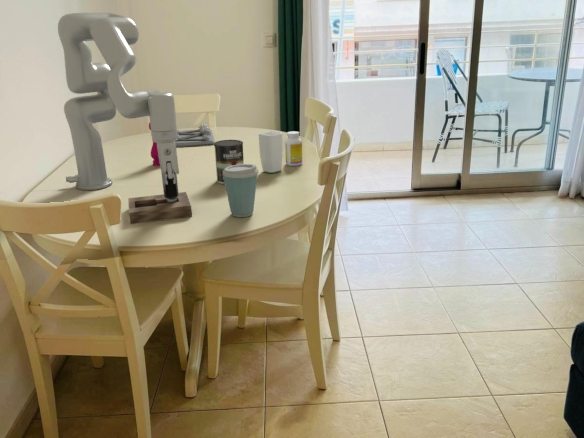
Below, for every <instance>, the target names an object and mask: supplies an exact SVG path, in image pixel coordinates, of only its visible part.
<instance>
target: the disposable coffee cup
mask: <svg viewBox="0 0 584 438" xmlns="http://www.w3.org/2000/svg"><path fill="white" fill-rule="evenodd" d="M259 173H260V172H259V169H258V168H257V165H256V164H253V163H244V164H239V165H233V166H229V167H226V168H225V169H224V171H223V174H222V175H223V177H224V182H225V184H224V186H225V190H226V195H227V200H228V204H229V210H230V214H231V215H232V216H233V217H236V218H246V217H250V216H252V215H253V212H254V209H255V201H256V199H255V198H256V191H257V182H258V181H257V180H258V174H259Z"/></svg>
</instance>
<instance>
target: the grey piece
mask: <svg viewBox="0 0 584 438" xmlns="http://www.w3.org/2000/svg"><path fill="white" fill-rule="evenodd" d="M177 132H178V140H177V141H175V145H176V148H187V147H202V146H214V143H215V142H216V141H215V138H214V135H213V134H214V133H213V131H212V129H211V128H210V126H209V125H208V124H205V123H203V124H202V123H201V124H199V126H198V129H187V130H185V129H183V130H179V129H178V128H177Z"/></svg>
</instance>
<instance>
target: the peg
mask: <svg viewBox="0 0 584 438" xmlns="http://www.w3.org/2000/svg"><path fill="white" fill-rule="evenodd" d="M160 170H161V169H160ZM166 174H168V172H166ZM172 174H173V172H172ZM174 176H175V183H176V188H177V196H175V197H167V196H166V188H165V184H166V180H165V175H163V174H162V170H161V179H162V188H163V194H164V197H165V198H167V203H171V202H177V197H178V196H179V193H180V192H179V185H178V184H179V183H178V177H177V176H178V174H177V173H175V172H174ZM167 177H168V176H167Z"/></svg>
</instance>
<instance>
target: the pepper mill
mask: <svg viewBox="0 0 584 438" xmlns="http://www.w3.org/2000/svg"><path fill="white" fill-rule="evenodd" d="M148 129H149V131H151V125H150V122H149V123H148ZM150 136H151V137H152V133H151V132H150ZM150 157H151V158H152V159H153V160H152V165H153V166H154V167H160V162H159V156H158V149H157V143H155V142H153V141H152V145H151V150H150Z"/></svg>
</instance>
